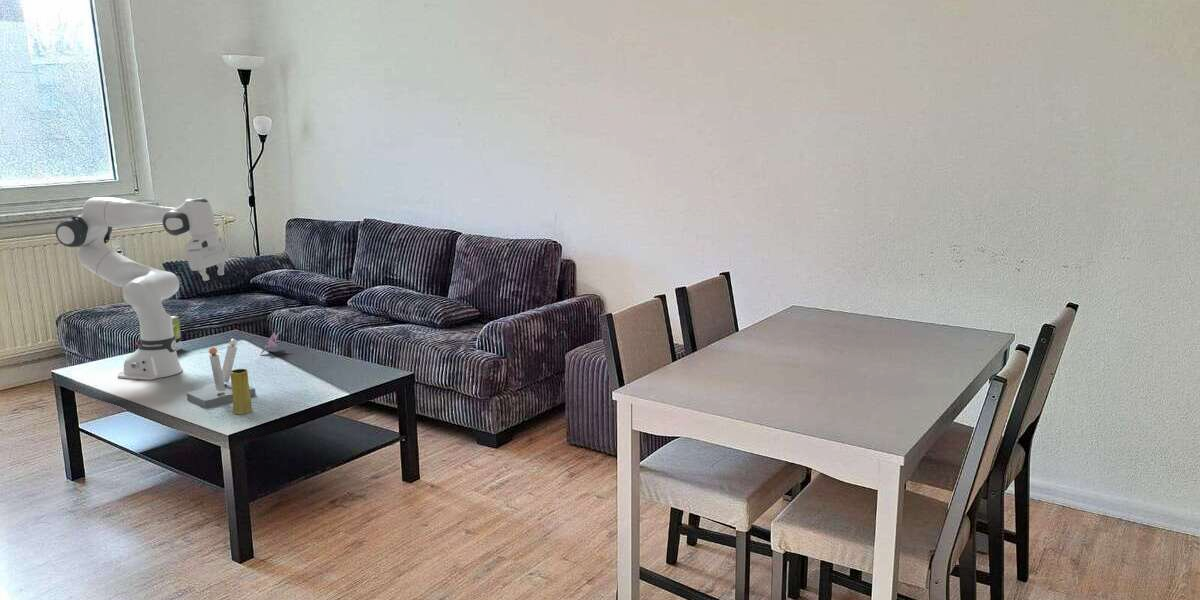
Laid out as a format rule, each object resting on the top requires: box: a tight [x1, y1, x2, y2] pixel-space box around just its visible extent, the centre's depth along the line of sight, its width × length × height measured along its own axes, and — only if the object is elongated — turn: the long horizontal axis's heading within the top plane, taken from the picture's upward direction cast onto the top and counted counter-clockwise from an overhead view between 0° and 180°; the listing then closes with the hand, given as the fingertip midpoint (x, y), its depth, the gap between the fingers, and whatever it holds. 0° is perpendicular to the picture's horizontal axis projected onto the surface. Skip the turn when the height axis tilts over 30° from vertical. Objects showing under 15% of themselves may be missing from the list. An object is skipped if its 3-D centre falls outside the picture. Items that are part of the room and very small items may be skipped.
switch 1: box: [208, 347, 225, 392], centre depth 298 cm, size 3×4×16 cm
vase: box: [230, 368, 253, 415], centre depth 289 cm, size 6×6×14 cm
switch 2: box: [221, 338, 238, 384], centre depth 311 cm, size 3×4×16 cm
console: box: [186, 381, 257, 409], centre depth 305 cm, size 18×14×3 cm
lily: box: [259, 330, 284, 356], centre depth 362 cm, size 12×12×10 cm
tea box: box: [138, 315, 183, 352], centre depth 363 cm, size 15×10×15 cm
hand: (213, 277), depth 323 cm, fingers open, 8 cm apart
